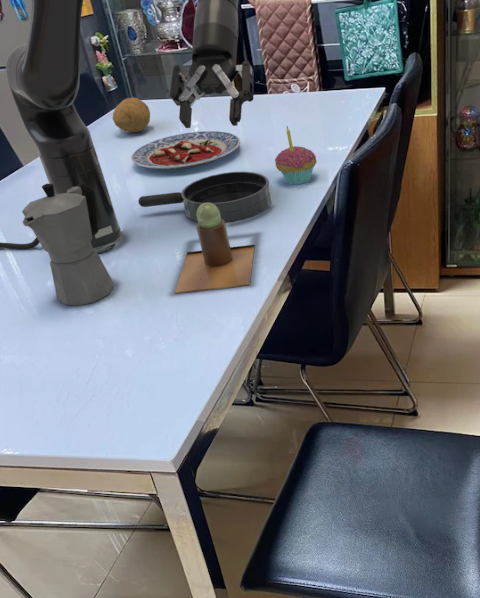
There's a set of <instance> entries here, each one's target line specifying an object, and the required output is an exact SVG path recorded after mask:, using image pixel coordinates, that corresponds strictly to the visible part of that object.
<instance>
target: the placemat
mask: <svg viewBox="0 0 480 598" xmlns="http://www.w3.org/2000/svg"><path fill="white" fill-rule="evenodd" d="M255 246H256V245H255V244H247V245H238V246H230V248H231V252H232V257H233V259H232V261H231V262H230V263H228V264H226V265H223V266H218V267H211V266H207V265H206V264H205V261H204V257H203V253H202V250H195V251H187V252H186V255H185V257H184V258H185V259H184V262H183V263H182V264H183V265H182V267H181V271H180V274H179V278H178V281H177V285H176V288H175V291H174V293H175V294H184V293H194V292H202V291H204V292H205V291H211V290H220V289H229V288H230V289H231V288H237V287H247V286H250V285H251V279H252V278H251V277H252V271H253V270H252V269H253V264H254V263H253V262H254V253H255Z"/></svg>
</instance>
